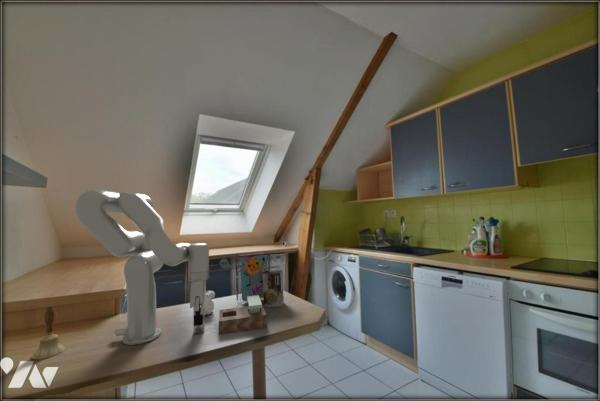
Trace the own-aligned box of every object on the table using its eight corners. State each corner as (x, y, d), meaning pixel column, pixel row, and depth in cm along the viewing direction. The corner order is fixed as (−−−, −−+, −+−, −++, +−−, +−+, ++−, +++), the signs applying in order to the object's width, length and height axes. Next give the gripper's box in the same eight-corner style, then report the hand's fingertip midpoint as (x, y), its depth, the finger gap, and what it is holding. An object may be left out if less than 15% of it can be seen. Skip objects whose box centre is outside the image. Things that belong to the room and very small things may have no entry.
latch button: (249, 320, 103) (249, 306, 103) (247, 309, 114) (247, 296, 115) (262, 319, 104) (262, 304, 104) (259, 308, 116) (258, 295, 116)
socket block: (219, 334, 100) (218, 321, 100) (219, 321, 111) (219, 309, 111) (266, 327, 104) (266, 314, 105) (262, 315, 116) (262, 304, 116)
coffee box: (284, 302, 132) (283, 269, 133) (281, 307, 126) (280, 273, 126) (266, 302, 133) (265, 270, 134) (263, 307, 127) (262, 273, 127)
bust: (204, 323, 115) (220, 301, 117) (190, 314, 114) (206, 292, 116) (209, 313, 127) (224, 293, 128) (196, 304, 126) (211, 284, 128)
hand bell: (69, 344, 96) (69, 300, 96) (58, 356, 88) (58, 307, 89) (39, 350, 93) (39, 304, 93) (26, 362, 85) (26, 312, 86)
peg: (192, 333, 100) (192, 307, 100) (194, 329, 104) (194, 303, 104) (203, 332, 101) (203, 306, 101) (204, 328, 105) (204, 302, 105)
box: (221, 310, 125) (220, 258, 125) (219, 306, 130) (218, 256, 131) (272, 300, 135) (270, 252, 136) (268, 297, 141) (266, 251, 142)
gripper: (191, 271, 110) (191, 315, 110) (185, 281, 94) (185, 333, 94) (210, 269, 112) (210, 313, 112) (207, 279, 96) (207, 330, 96)
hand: (198, 322), depth 103 cm, fingers closed on peg, 4 cm apart
